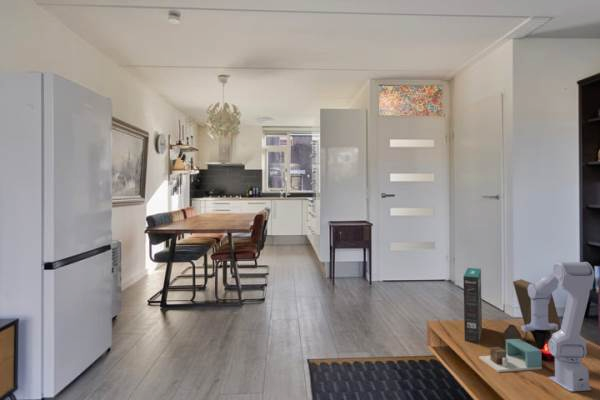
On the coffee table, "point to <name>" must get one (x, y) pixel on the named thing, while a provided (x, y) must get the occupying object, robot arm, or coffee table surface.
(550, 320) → the photo frame
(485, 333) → the coffee table surface
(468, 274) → the cake mix box
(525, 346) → the cover
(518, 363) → the base plate
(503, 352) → the block
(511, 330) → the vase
